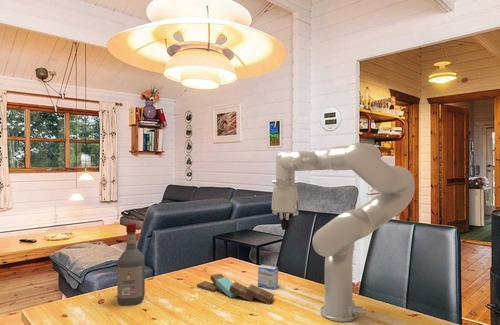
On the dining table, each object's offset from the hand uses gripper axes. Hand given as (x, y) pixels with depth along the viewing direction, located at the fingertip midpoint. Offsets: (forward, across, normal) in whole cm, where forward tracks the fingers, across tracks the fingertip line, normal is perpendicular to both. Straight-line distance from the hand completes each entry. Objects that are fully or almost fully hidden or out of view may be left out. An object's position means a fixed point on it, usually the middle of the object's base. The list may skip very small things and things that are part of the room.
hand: (285, 229), depth 136 cm
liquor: (+27, -53, -29) cm, 66 cm away
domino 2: (+26, -24, -5) cm, 36 cm away
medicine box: (+27, -11, +8) cm, 31 cm away
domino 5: (+26, -3, -6) cm, 27 cm away
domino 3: (+26, -18, -8) cm, 33 cm away
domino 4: (+26, -10, -7) cm, 29 cm away
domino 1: (+27, -28, -5) cm, 39 cm away
